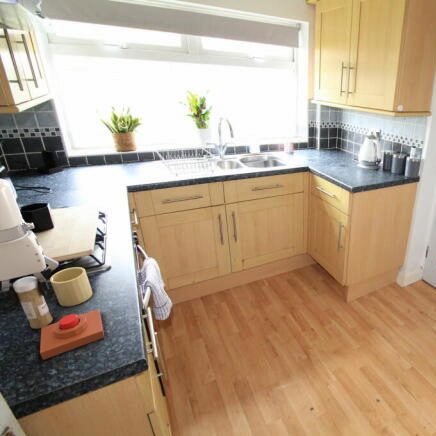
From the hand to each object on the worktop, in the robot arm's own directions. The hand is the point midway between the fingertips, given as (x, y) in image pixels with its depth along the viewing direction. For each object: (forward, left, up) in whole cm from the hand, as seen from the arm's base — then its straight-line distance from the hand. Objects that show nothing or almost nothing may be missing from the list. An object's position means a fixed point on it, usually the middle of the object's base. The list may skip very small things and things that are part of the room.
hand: (30, 296), depth 80 cm
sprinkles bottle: (0, 0, -9) cm, 9 cm away
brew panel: (+6, -10, -9) cm, 15 cm away
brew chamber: (+7, +8, -9) cm, 14 cm away
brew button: (+6, -10, -5) cm, 13 cm away
